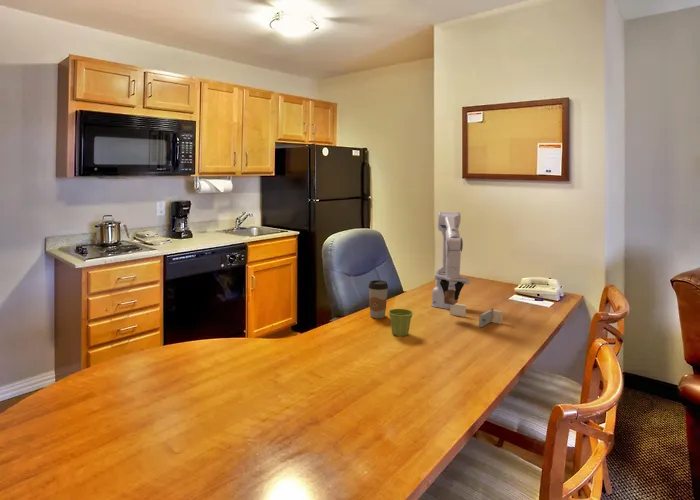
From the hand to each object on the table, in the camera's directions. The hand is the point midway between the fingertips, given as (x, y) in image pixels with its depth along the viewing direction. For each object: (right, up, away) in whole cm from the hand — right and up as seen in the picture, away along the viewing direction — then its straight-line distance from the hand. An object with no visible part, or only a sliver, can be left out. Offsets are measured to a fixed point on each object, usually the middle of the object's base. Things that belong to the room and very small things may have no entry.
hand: (451, 298), depth 185 cm
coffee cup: (-31, -8, +4) cm, 32 cm away
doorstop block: (0, -2, 0) cm, 2 cm away
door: (+14, -10, -5) cm, 17 cm away
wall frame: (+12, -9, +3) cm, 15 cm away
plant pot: (-23, -12, -17) cm, 31 cm away
